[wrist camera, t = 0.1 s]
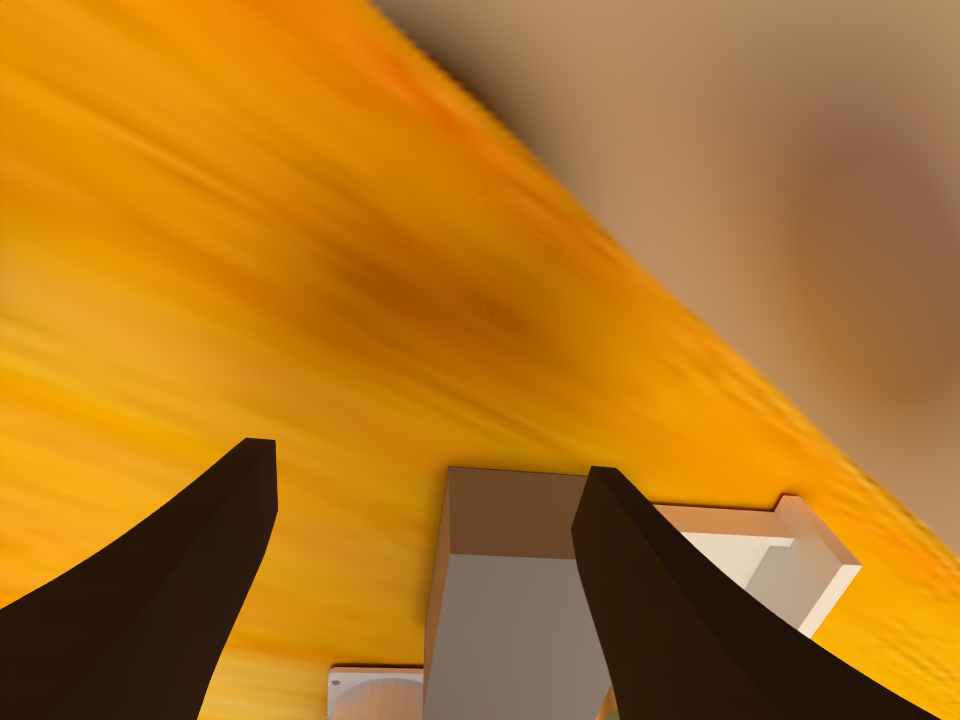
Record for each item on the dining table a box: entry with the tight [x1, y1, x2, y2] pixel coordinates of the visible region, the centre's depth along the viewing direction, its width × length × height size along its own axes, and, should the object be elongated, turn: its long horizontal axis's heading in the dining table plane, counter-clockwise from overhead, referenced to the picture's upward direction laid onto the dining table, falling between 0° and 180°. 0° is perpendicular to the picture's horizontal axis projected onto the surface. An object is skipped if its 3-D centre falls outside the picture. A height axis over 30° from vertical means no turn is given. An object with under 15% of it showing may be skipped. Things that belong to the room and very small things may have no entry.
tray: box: [653, 495, 863, 639], centre depth 26 cm, size 12×9×4 cm
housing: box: [422, 467, 612, 720], centre depth 25 cm, size 12×9×5 cm
